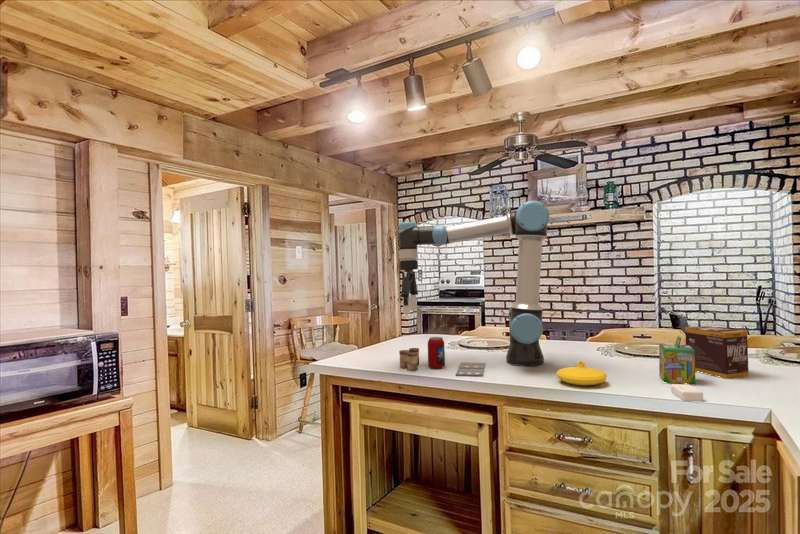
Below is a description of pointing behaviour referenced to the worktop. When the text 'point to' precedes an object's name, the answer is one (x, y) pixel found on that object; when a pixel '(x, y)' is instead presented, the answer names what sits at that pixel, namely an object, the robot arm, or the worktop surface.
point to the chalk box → (677, 363)
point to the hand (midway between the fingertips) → (410, 312)
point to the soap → (686, 392)
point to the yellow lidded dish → (581, 375)
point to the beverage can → (436, 353)
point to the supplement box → (719, 350)
